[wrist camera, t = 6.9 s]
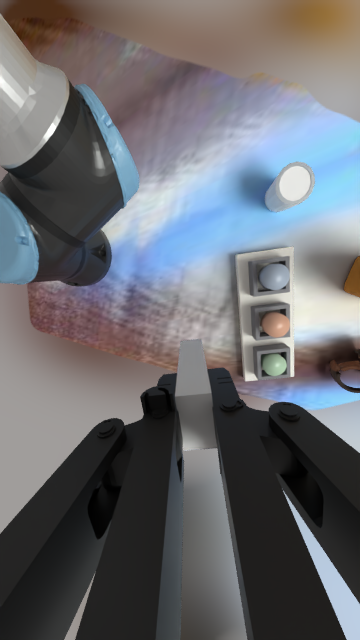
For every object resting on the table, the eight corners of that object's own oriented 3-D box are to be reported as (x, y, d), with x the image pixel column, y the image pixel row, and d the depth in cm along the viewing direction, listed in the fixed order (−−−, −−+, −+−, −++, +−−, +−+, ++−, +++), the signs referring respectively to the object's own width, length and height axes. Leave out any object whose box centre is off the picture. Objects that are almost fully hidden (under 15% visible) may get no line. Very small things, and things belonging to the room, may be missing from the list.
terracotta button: (259, 312, 44) (264, 315, 41) (283, 310, 43) (290, 312, 40) (260, 334, 45) (265, 338, 42) (283, 331, 44) (290, 336, 42)
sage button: (259, 351, 48) (263, 357, 45) (280, 349, 47) (286, 354, 44) (259, 370, 49) (264, 377, 46) (280, 368, 48) (286, 374, 45)
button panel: (234, 255, 45) (240, 253, 40) (289, 247, 44) (301, 244, 39) (243, 377, 52) (248, 388, 48) (290, 372, 52) (300, 383, 47)
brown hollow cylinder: (364, 380, 52) (371, 402, 46) (322, 366, 56) (323, 385, 49) (390, 342, 46) (403, 362, 40) (341, 330, 50) (346, 346, 44)
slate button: (257, 266, 41) (263, 265, 38) (282, 262, 41) (289, 262, 38) (258, 290, 42) (264, 291, 40) (282, 287, 42) (289, 288, 39)
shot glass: (271, 173, 41) (287, 154, 34) (300, 187, 41) (322, 170, 35) (255, 208, 43) (268, 196, 36) (284, 220, 43) (302, 211, 36)
